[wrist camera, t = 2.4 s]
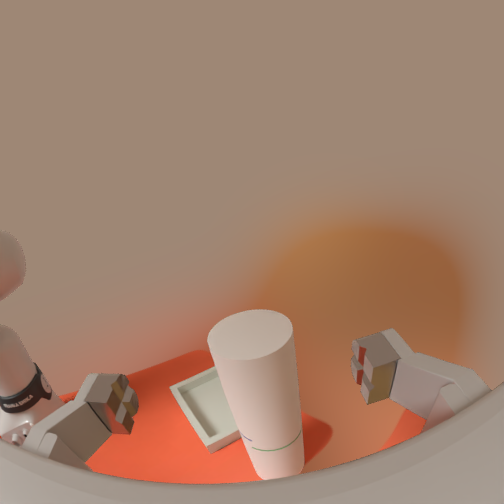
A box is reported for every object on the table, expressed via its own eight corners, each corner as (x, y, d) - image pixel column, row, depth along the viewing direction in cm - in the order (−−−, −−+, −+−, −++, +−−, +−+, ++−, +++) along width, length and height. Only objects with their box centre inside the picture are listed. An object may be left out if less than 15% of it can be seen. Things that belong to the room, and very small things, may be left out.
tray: (210, 453, 33) (206, 446, 32) (173, 395, 46) (169, 387, 46) (294, 404, 41) (293, 395, 40) (243, 361, 54) (241, 352, 53)
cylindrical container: (277, 437, 35) (250, 302, 27) (314, 458, 30) (310, 322, 22) (244, 465, 30) (191, 337, 22) (281, 491, 25) (248, 373, 17)
